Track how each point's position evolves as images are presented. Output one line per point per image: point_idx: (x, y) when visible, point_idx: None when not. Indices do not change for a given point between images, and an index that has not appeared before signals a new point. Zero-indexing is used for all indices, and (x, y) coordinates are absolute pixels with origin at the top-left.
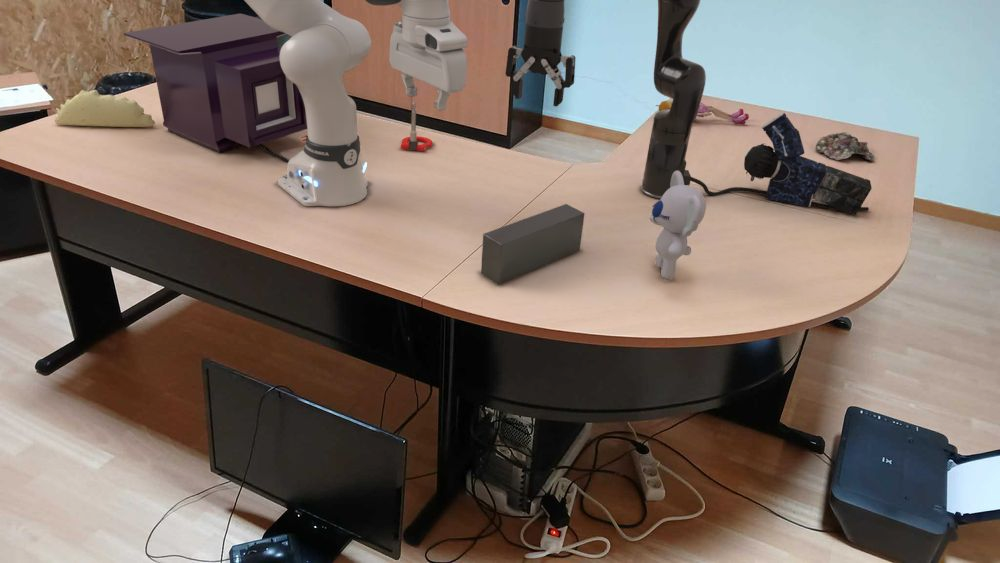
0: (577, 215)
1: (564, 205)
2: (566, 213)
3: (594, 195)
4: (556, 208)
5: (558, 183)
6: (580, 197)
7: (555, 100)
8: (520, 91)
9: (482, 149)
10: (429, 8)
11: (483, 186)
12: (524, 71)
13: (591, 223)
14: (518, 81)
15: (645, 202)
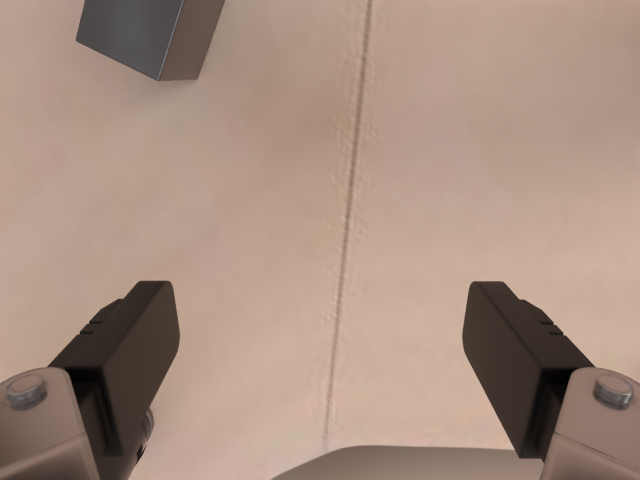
0: (85, 8)
1: (156, 63)
2: (122, 1)
3: (226, 342)
4: (169, 25)
5: (320, 359)
6: (250, 319)
7: (134, 299)
8: (485, 344)
9: None
10: None
11: (479, 266)
12: (562, 472)
13: (174, 209)
14: (556, 385)
15: None
